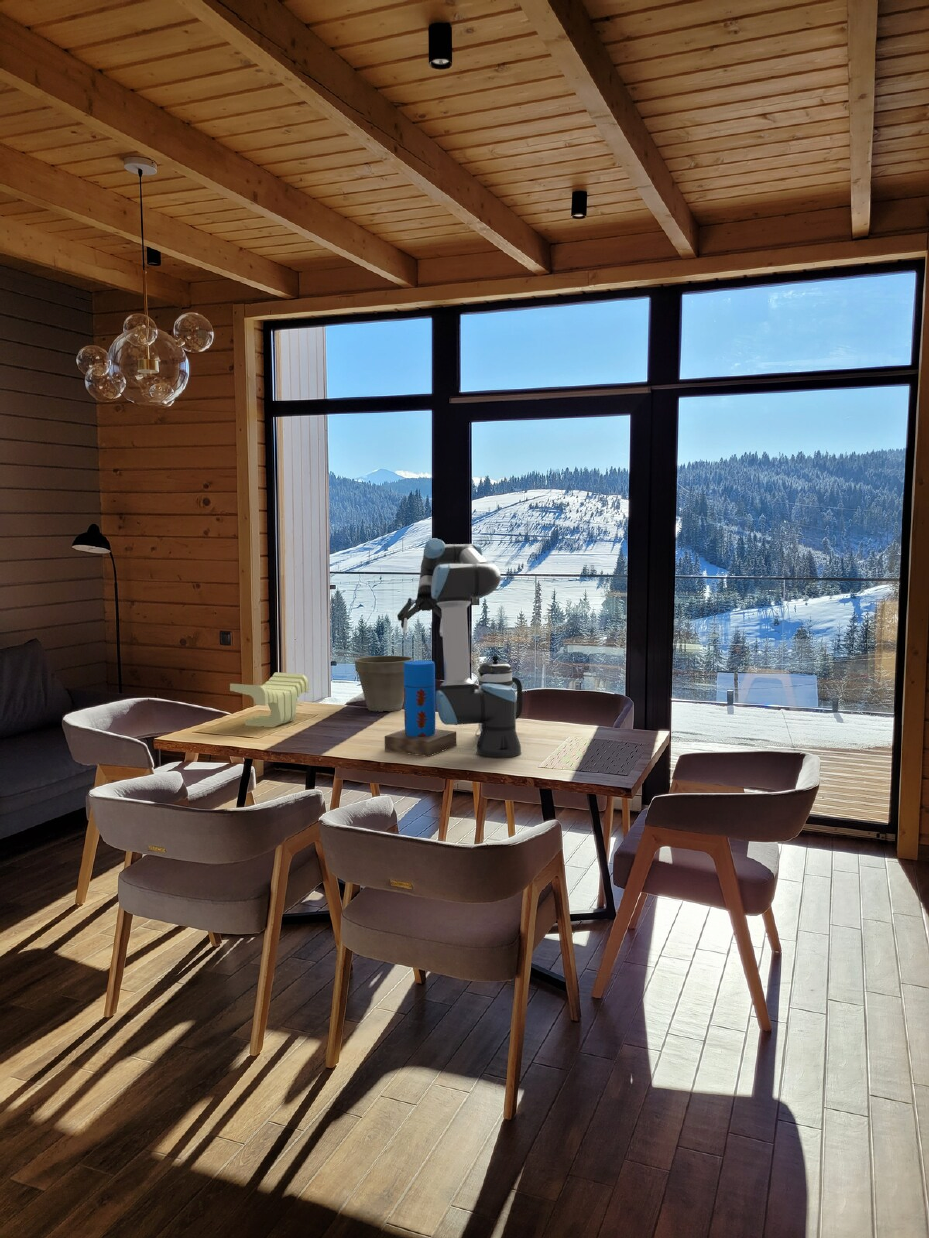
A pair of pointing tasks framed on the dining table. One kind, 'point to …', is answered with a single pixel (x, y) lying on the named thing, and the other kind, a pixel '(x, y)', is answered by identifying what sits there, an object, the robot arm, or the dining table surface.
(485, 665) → the coffee press
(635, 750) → the dining table surface
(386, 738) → the block
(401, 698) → the plant pot
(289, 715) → the pale green ribbed part
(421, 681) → the thermos
